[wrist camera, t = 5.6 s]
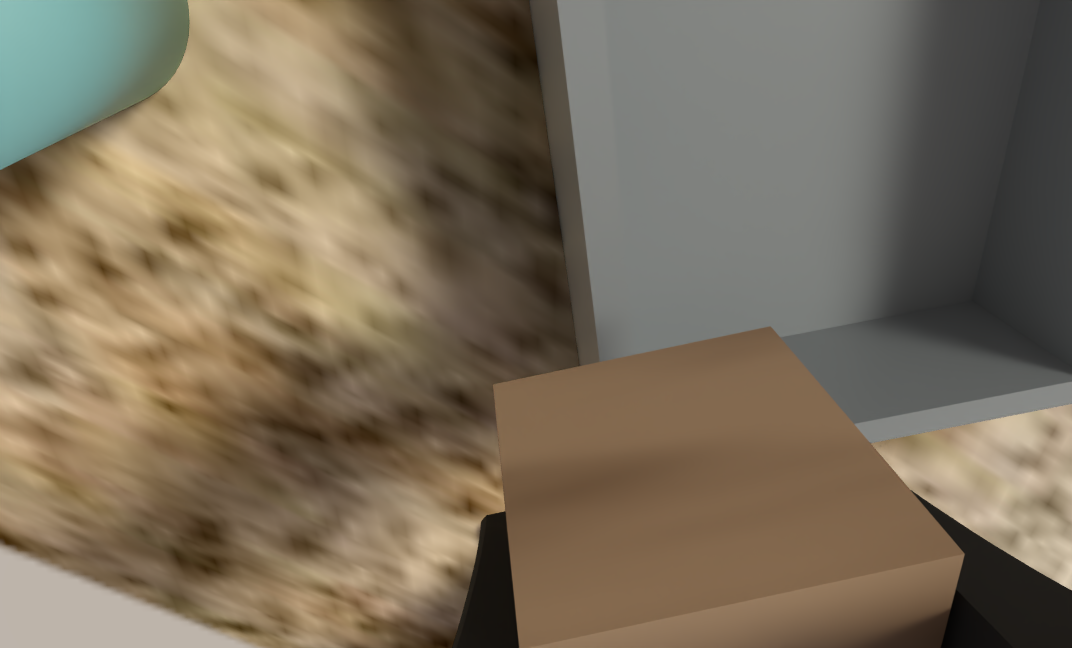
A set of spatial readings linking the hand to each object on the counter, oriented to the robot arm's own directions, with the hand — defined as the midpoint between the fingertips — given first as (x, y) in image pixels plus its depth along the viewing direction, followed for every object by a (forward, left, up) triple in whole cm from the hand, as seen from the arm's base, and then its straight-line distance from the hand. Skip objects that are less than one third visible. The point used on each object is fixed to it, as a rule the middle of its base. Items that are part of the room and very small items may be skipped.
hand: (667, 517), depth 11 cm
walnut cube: (0, 0, -1) cm, 1 cm away
